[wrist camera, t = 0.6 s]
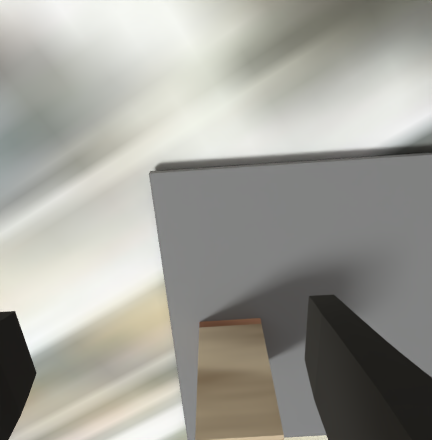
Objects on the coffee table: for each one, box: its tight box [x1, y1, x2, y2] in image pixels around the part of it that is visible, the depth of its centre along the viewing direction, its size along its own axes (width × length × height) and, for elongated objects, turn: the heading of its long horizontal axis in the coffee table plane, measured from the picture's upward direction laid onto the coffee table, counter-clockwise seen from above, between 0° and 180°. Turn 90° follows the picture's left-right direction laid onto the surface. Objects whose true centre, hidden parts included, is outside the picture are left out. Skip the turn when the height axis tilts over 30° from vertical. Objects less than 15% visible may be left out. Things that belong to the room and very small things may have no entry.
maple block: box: [195, 318, 284, 440], centre depth 18 cm, size 4×4×7 cm
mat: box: [149, 153, 432, 440], centre depth 21 cm, size 20×18×1 cm
